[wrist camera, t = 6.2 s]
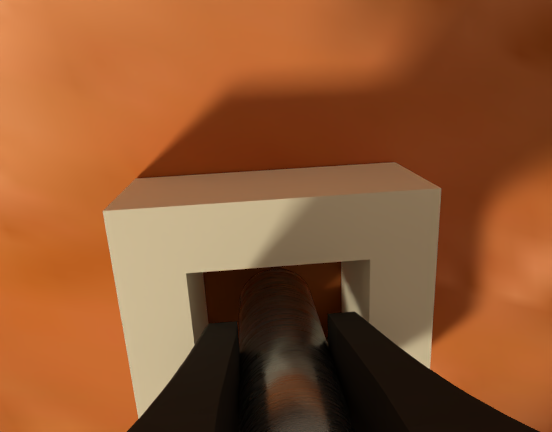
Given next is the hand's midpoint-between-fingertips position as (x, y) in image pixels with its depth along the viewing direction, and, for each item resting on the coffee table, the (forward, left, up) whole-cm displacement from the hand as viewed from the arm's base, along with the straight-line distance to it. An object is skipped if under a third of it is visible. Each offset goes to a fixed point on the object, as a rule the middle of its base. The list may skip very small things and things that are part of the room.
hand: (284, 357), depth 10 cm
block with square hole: (0, 0, -3) cm, 3 cm away
